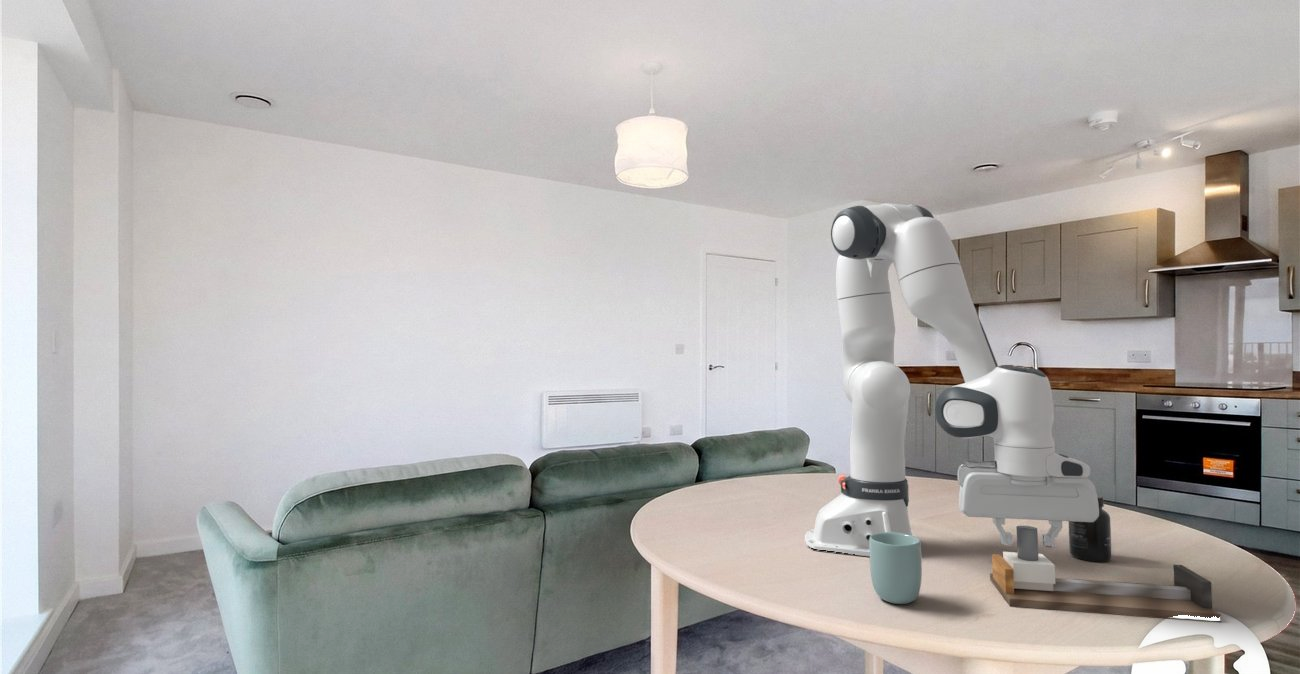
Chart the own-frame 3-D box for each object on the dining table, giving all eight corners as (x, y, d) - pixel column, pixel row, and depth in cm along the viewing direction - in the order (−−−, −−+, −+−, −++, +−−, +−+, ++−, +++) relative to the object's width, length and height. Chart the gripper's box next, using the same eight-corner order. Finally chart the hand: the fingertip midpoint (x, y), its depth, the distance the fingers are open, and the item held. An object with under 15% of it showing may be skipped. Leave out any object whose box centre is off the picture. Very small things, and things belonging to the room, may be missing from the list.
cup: (896, 612, 99) (894, 547, 99) (861, 595, 106) (859, 535, 106) (933, 604, 102) (931, 541, 102) (896, 588, 109) (894, 529, 109)
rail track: (1009, 606, 100) (1008, 573, 101) (990, 580, 112) (989, 550, 112) (1221, 622, 93) (1219, 586, 93) (1176, 592, 105) (1175, 561, 105)
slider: (1014, 590, 103) (1012, 531, 103) (1003, 578, 109) (1001, 522, 109) (1055, 593, 101) (1053, 533, 102) (1043, 580, 107) (1040, 524, 108)
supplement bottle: (1119, 563, 120) (1116, 499, 120) (1079, 562, 121) (1076, 498, 121) (1101, 552, 126) (1098, 492, 127) (1063, 551, 128) (1061, 491, 128)
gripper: (960, 463, 106) (963, 547, 105) (1101, 467, 100) (1105, 555, 100) (953, 457, 112) (955, 536, 111) (1085, 460, 106) (1088, 543, 106)
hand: (1027, 545), depth 105 cm, fingers open, 5 cm apart
